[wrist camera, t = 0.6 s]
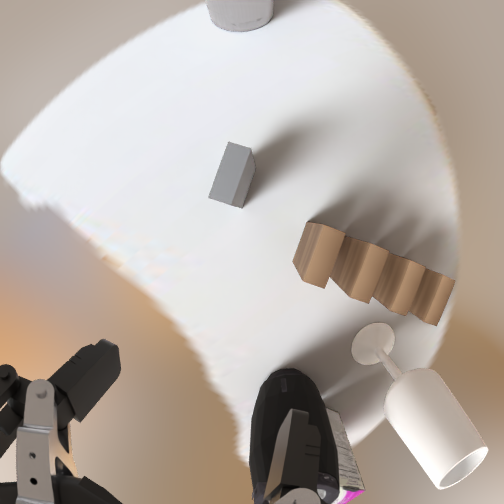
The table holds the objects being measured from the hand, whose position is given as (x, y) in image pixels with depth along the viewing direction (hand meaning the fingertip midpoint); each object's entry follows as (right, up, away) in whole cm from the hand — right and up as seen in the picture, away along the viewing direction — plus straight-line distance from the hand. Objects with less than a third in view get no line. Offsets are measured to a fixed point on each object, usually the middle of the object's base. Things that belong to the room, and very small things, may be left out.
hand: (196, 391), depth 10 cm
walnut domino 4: (+22, +2, +22) cm, 31 cm away
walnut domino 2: (+13, +5, +22) cm, 26 cm away
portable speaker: (+7, -13, +25) cm, 29 cm away
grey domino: (+1, +14, +21) cm, 25 cm away
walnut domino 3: (+17, +4, +22) cm, 28 cm away
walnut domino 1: (+9, +7, +22) cm, 25 cm away
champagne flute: (+19, -7, +23) cm, 31 cm away
